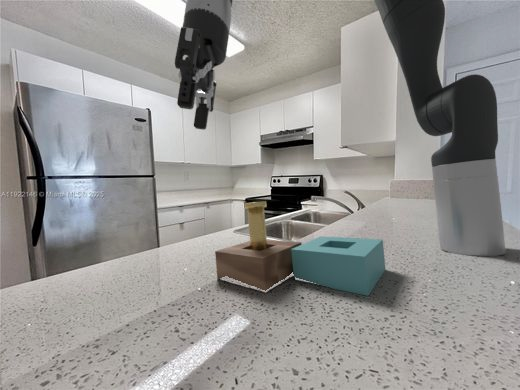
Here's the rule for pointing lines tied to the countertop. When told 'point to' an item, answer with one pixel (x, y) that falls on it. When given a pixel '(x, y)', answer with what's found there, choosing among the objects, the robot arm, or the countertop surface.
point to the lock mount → (256, 263)
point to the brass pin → (257, 225)
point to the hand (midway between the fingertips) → (193, 119)
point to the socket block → (340, 263)
